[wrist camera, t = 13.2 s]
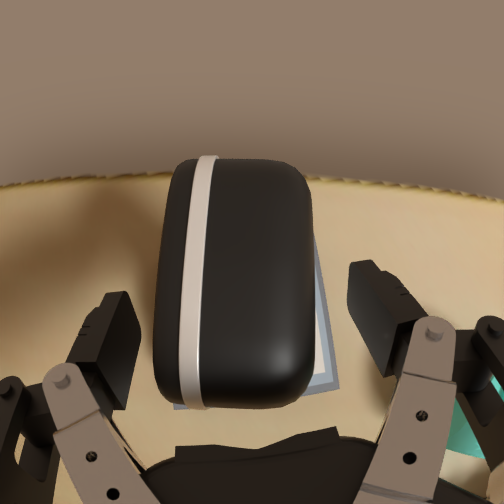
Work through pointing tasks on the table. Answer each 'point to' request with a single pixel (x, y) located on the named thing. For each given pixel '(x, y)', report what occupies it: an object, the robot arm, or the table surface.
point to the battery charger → (235, 286)
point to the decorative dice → (466, 430)
